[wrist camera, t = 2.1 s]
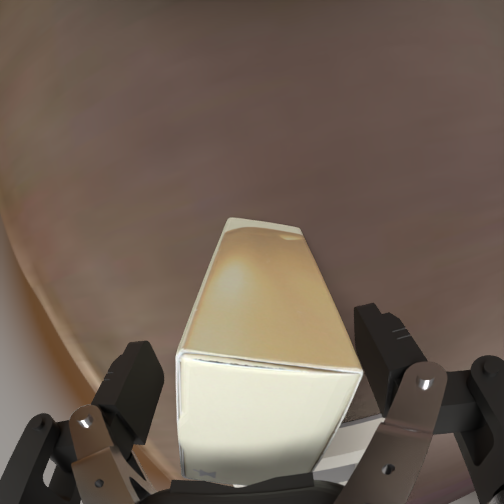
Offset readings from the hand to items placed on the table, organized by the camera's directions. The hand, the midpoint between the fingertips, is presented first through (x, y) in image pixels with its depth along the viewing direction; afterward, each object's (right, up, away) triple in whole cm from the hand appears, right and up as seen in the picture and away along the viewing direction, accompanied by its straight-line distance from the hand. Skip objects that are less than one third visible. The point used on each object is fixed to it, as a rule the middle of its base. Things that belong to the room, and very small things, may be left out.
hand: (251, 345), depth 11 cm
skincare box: (0, +3, +7) cm, 8 cm away
